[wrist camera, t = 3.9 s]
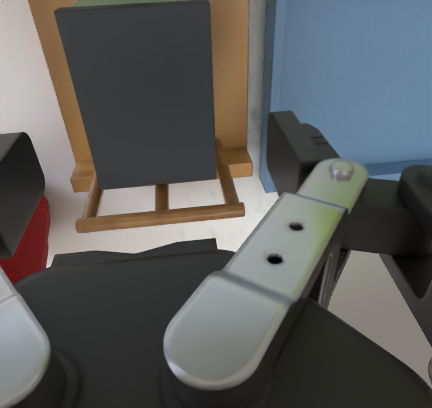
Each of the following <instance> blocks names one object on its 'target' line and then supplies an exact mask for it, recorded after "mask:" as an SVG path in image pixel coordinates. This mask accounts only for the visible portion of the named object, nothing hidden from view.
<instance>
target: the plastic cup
mask: <svg viewBox="0 0 432 408" xmlns="http://www.w3.org/2000/svg"><path fill="white" fill-rule="evenodd" d="M49 226H50V215H49V207H48V201H47V200H46V198H45V197H44V195H42V197H41V199H40V201H39V203H38V205H37V207H36V209H35V211H34V213H33V215H32V218H31V220H30V222H29V224H28V226H27V228H26V230H25V232H24V234H23V236H22V238H21V240H20V243H19V245H18V247H17V249H16V251H15V253H14V255H13V257H12V258H4V259H0V266H1V268H2V270H3V271H4V273H5V274H6V276H7V277H8V279H9V280H10V282H11V283H12V285H13V284H15V283H16V282H18V281H19V280H21V279H23V278H25V277H27V276H29V275H31V274H33V273H35V272H38V271H40V270H43V269H46V264H47V256H48V234H49Z"/></svg>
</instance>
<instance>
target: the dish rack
mask: <svg viewBox="0 0 432 408" xmlns="http://www.w3.org/2000/svg"><path fill="white" fill-rule="evenodd" d="M77 1H78V0H28V2H29V5H30V9H31V12H32V15H33V19H34V22H35V25H36V29H37V32H38V36H39V39H40V42H41V46H42V49H43V53H44V56H45V59H46V63H47V66H48V69H49V73H50V76H51V80H52V83H53V86H54V90H55V93H56V96H57V100H58V103H59V107H60V110H61V113H62V117H63V120H64V123H65V127H66V130H67V134H68V137H69V140H70V144H71V147H72V150H73V154H74V157H75V161H76V165H75V168H74V171H73V173H72V176H71V179H70V181H71V184H72V187H73V190H74V192H75V193H76V192H86V191H89V194H88V198H87V202H86V205H85V209H84V212H83V216H82V218H78V219H77V220H76V230H77V232H78V233H87V232H97V231H107V230H117V229H126V228H136V227H146V226H156V225H166V224H176V223H186V222H195V221H205V220H215V219H225V218H235V217H243V216H245V207H244V204H243V203H242V202H241V203H239V200H238V197H237V193H236V190H235V186H234V183H233V179H232V178H236V177H247V176H252V168H253V163H252V160H251V158H250V155H249V153H248V150H247V103H248V43H249V0H208V1H209V2H210V13H211V39H212V65H213V90H214V116H215V142H216V168H217V179H219V180H220V184H221V189H222V193H223V197H224V201H225V204H221V205H210V206H200V207H190V208H180V209H170V210H169V185H168V184H158V185H155V211H150V212H139V213H129V214H119V215H109V216H99V217H98V214H99V209H100V205H101V200H102V196H103V191H104V190H108V189H104V190H101V189H100V186H99V182H98V179H97V175H96V171H95V167H94V164H93V160H92V156H91V152H90V148H89V145H88V141H87V137H86V133H85V130H84V126H83V122H82V118H81V114H80V111H79V107H78V103H77V99H76V96H75V92H74V88H73V84H72V80H71V77H70V73H69V69H68V65H67V62H66V58H65V54H64V50H63V46H62V43H61V39H60V35H59V31H58V28H57V24H56V20H55V16H54V11H55V10H56V9H58V8H62V7H71V6H72V5H74V4H75V3H76V2H77ZM212 180H215V179H212ZM201 181H204V180H201ZM190 182H193V181H190ZM179 183H183V182H179ZM169 184H172V183H169ZM147 186H151V185H147ZM136 187H140V186H136ZM126 188H129V187H126ZM115 189H118V188H115Z"/></svg>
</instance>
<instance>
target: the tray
mask: <svg viewBox="0 0 432 408" xmlns="http://www.w3.org/2000/svg"><path fill="white" fill-rule="evenodd" d="M289 110H291V111H292V112H293V113H294V114H295V116H296V117H297V119H298V120H299V122H300V123H301V124H303V123H308V124H310V125H312V126H314V127H315V128H317V129H319V131H320V132H321V133H322V134H323V136H324V138H326V140H327V141H328V142H329V144H330V145H331V146H332V147H333V149H334V150H335V151H336V153H337V154H338V155H339V156H340V158H343V159H349V160H353V161H356V162H358V163H360V164H362V165H363V166H364V167H366V169H367V170H368V172H369V176H368V177H369V178H375V179H384V180H399V179H400V176H401V173H402V170H403V169H405V168H406V167H409V166H412V165H430V166H432V0H267V10H266V34H265V58H264V82H263V106H262V130H261V154H260V180H261V182H262V185H263V187H264V190H265V192H266V193H269V192H277V190H276V188H275V185H274V183H273V181H272V178H271V176H270V174H269V171H268V168H267V161H266V148H267V124H268V115H269V113H270V112H277V111H289Z"/></svg>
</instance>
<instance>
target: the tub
mask: <svg viewBox="0 0 432 408" xmlns="http://www.w3.org/2000/svg"><path fill="white" fill-rule="evenodd" d="M54 16H55V20H56V24H57V28H58V31H59V35H60V39H61V43H62V46H63V50H64V54H65V58H66V62H67V65H68V69H69V73H70V77H71V80H72V84H73V88H74V92H75V96H76V99H77V103H78V107H79V111H80V114H81V118H82V122H83V126H84V130H85V133H86V137H87V141H88V145H89V148H90V152H91V156H92V160H93V164H94V167H95V171H96V175H97V179H98V182H99V186H100V189H101V190H104V189H115V188H126V187H136V186H147V185H158V184H169V183H179V182H190V181H201V180H212V179H217V168H216V142H215V116H214V90H213V65H212V39H211V13H210V2H209V1H208V0H78V1H77V2H76V3H75V4H74V5H72V6H71V7H62V8H58V9H56V10H55V11H54Z"/></svg>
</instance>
